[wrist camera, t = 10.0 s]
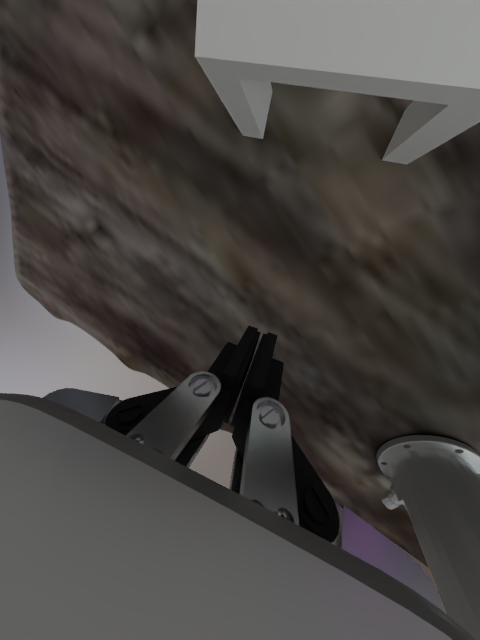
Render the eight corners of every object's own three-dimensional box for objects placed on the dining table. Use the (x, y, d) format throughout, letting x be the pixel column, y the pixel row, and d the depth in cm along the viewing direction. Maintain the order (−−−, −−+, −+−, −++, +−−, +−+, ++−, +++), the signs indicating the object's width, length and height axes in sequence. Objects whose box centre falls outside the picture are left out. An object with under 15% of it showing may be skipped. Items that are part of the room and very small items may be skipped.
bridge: (406, 164, 15) (526, 94, 7) (242, 135, 17) (194, 56, 9) (433, 113, 13) (623, -48, 6) (250, 88, 16) (200, -55, 8)
